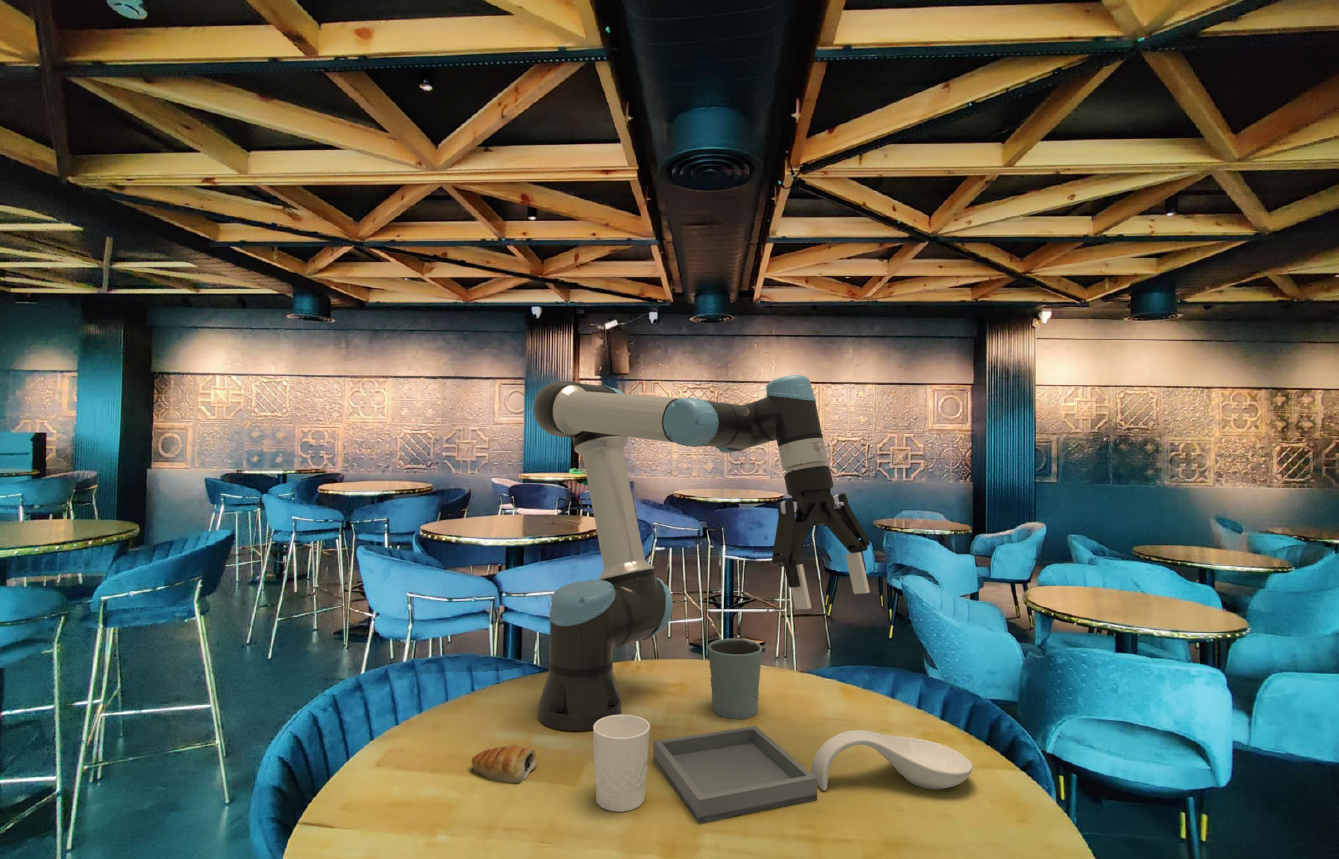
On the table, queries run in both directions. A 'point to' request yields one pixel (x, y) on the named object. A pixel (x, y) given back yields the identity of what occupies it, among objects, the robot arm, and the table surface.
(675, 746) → the tray
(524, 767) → the pastry
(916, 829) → the table surface
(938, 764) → the spoon rest
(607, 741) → the white cup
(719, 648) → the grey-green cup
